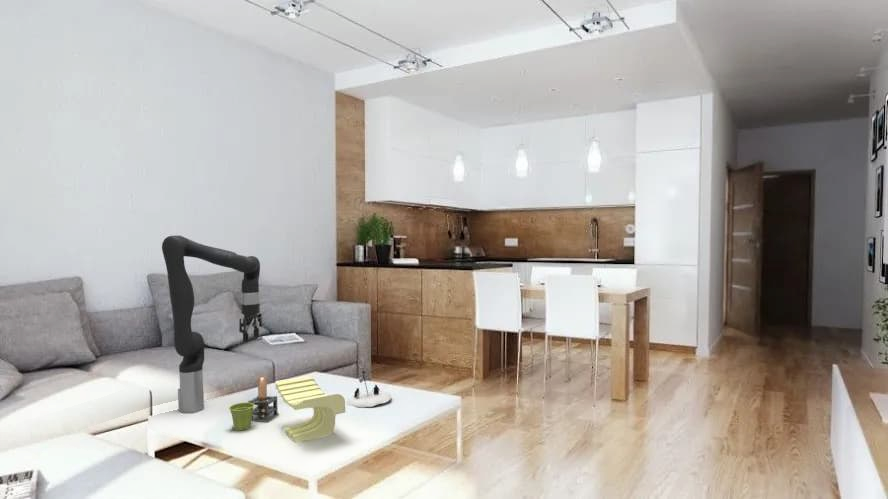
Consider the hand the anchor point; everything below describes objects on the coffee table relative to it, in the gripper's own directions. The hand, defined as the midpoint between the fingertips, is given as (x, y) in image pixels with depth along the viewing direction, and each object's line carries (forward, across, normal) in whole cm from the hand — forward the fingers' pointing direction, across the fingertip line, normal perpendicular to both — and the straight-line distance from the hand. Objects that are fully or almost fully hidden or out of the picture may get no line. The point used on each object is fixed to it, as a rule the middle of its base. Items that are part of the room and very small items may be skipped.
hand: (251, 339), depth 251 cm
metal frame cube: (+29, +12, +12) cm, 34 cm away
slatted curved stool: (+29, +24, +38) cm, 54 cm away
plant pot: (+30, +24, +10) cm, 39 cm away
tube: (+28, +12, +12) cm, 33 cm away
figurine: (+29, -16, +48) cm, 58 cm away
